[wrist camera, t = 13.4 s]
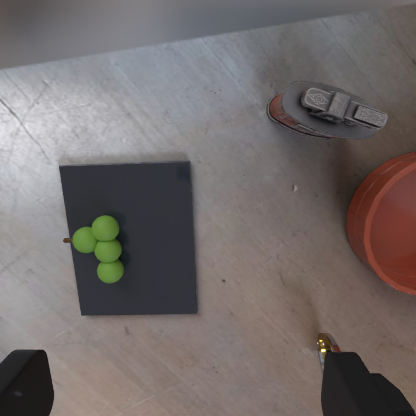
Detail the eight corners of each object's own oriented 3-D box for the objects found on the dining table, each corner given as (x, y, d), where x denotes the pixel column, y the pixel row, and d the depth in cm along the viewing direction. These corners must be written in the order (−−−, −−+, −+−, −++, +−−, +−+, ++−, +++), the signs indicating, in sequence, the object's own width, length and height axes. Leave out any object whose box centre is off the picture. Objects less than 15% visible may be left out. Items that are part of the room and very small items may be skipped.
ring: (333, 367, 37) (364, 427, 29) (307, 368, 37) (331, 429, 29) (333, 318, 35) (366, 368, 28) (306, 320, 36) (331, 370, 28)
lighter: (261, 121, 30) (282, 112, 21) (273, 87, 30) (301, 63, 20) (333, 145, 31) (387, 149, 21) (346, 113, 30) (409, 101, 20)
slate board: (62, 165, 32) (58, 165, 31) (190, 160, 32) (189, 161, 31) (84, 312, 36) (81, 315, 35) (197, 310, 36) (196, 313, 35)
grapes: (121, 212, 32) (66, 213, 33) (112, 219, 30) (52, 220, 30) (128, 275, 34) (76, 277, 34) (120, 287, 31) (63, 289, 32)
